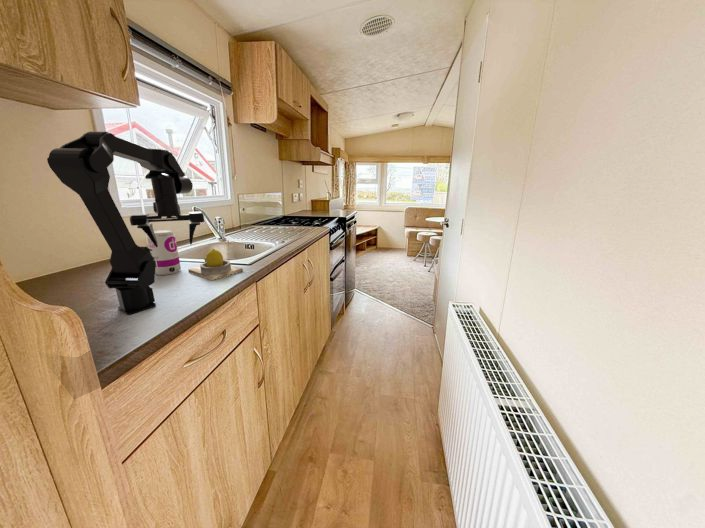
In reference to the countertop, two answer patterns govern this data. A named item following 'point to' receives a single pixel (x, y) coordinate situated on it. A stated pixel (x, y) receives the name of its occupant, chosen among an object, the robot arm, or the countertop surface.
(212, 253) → the lemon
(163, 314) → the countertop surface
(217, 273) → the carrier board
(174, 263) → the supplement can
